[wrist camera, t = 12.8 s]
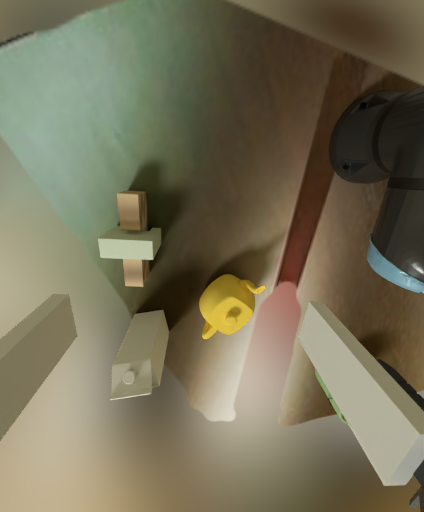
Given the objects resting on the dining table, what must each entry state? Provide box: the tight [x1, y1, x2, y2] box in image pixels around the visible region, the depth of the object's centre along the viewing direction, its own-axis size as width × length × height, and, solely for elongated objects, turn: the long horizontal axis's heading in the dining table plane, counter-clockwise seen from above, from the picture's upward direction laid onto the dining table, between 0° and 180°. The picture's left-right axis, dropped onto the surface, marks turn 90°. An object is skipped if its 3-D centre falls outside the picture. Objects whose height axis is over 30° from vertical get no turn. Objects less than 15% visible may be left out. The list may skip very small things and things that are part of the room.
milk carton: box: [110, 310, 169, 400], centre depth 45 cm, size 7×7×19 cm
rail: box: [117, 190, 150, 287], centre depth 43 cm, size 18×4×6 cm, turn 176°
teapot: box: [199, 274, 266, 339], centre depth 47 cm, size 18×11×11 cm, turn 139°
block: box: [98, 226, 161, 260], centre depth 41 cm, size 4×9×9 cm, turn 86°
